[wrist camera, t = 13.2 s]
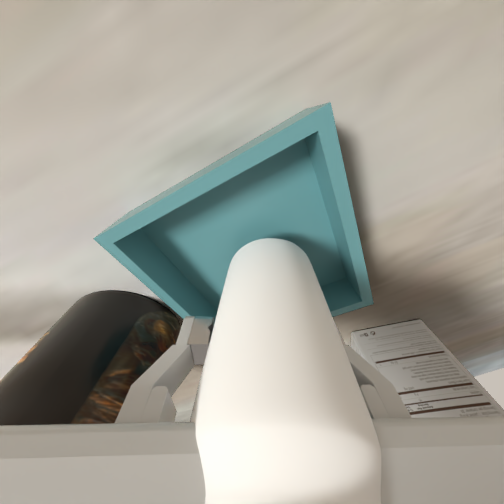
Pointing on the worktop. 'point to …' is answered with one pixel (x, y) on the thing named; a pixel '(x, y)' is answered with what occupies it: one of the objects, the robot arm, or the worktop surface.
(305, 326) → the can
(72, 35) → the worktop surface
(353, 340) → the supplement box
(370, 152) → the worktop surface
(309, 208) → the bin
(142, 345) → the jar
